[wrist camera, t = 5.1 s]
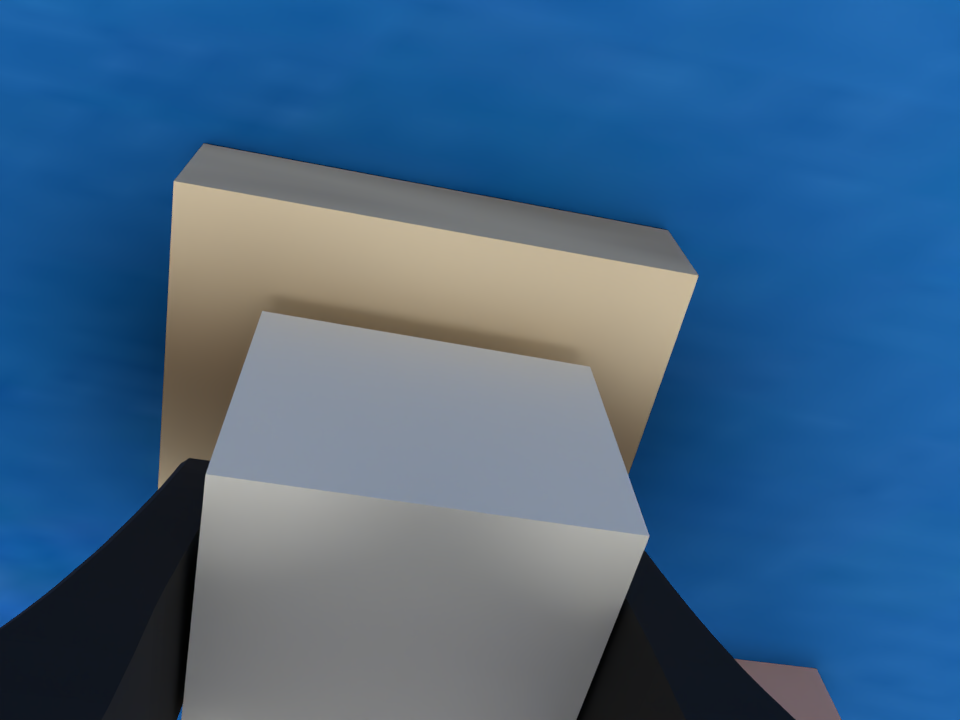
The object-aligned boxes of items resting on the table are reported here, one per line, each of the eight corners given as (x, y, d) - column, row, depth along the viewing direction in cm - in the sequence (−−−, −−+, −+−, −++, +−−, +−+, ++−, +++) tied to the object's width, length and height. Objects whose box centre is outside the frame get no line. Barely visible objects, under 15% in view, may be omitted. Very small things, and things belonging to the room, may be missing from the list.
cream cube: (513, 604, 16) (540, 809, 13) (230, 570, 15) (175, 778, 12) (590, 366, 14) (649, 536, 10) (261, 311, 13) (205, 473, 9)
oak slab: (556, 571, 19) (568, 641, 18) (178, 524, 18) (152, 594, 16) (667, 230, 16) (699, 275, 14) (203, 143, 15) (173, 180, 13)
